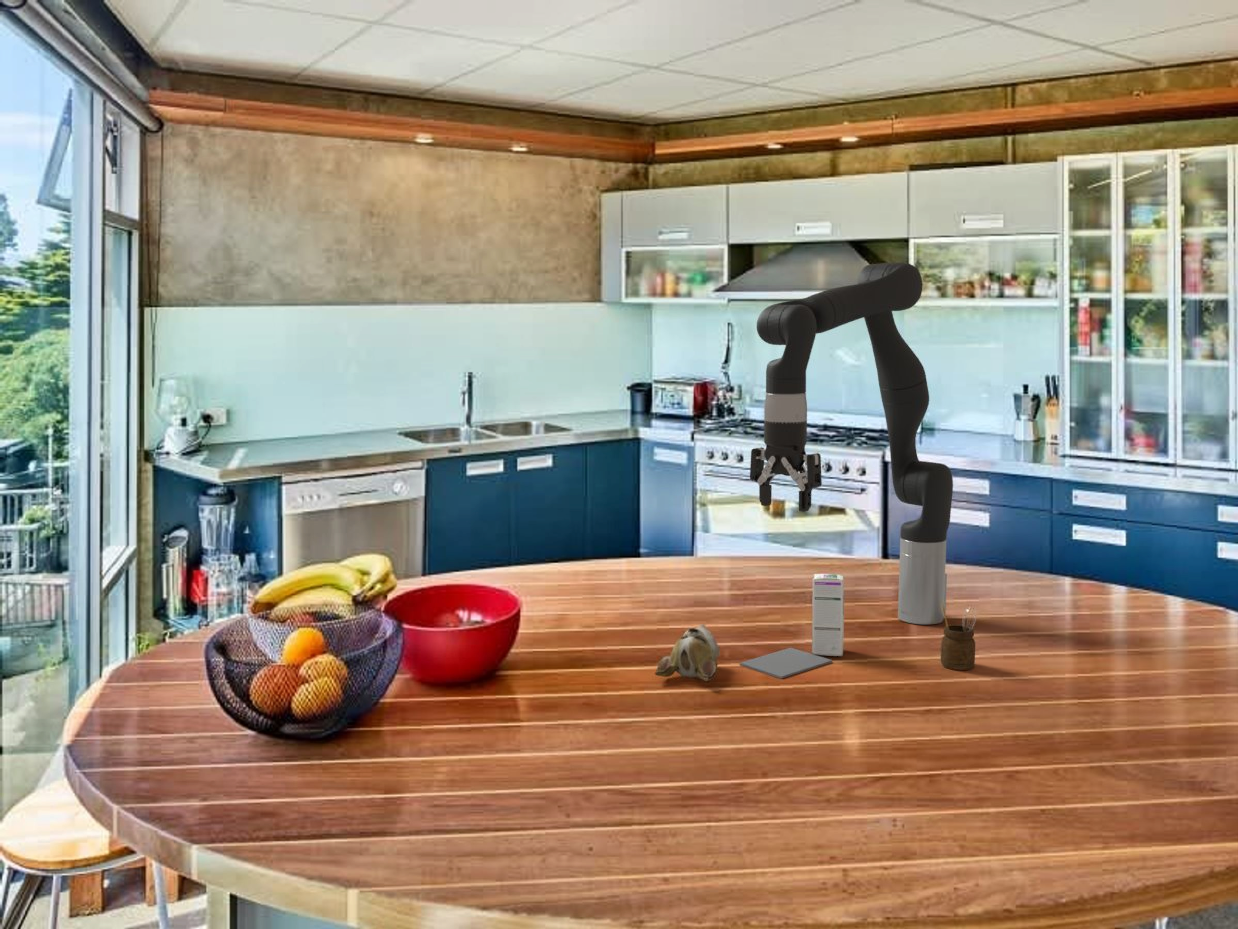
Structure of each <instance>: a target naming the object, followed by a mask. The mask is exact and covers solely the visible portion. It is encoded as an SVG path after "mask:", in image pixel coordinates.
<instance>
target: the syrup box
mask: <svg viewBox="0 0 1238 929" xmlns="http://www.w3.org/2000/svg"><path fill="white" fill-rule="evenodd" d="M844 586H845V585H844V575H842V574H837V573H814V574H813V577H812V614H811V615H812V617H811V618H812V619H811V621H812V622H811V629H812V633H811V634H812V637H811V641H812V642H811V647H812V648H811V654H813V655H817V656H830V657H832V656H833V657H837V656H838V657H843V655H844V654H843V653H844V633H845V632H844V631H845V630H844V629H845V628H844V627H845V626H844V625H845V624H844V623H845V620H844V619H845V594H844V591H845V590H844Z"/></svg>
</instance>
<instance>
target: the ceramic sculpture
mask: <svg viewBox="0 0 1238 929" xmlns="http://www.w3.org/2000/svg"><path fill="white" fill-rule="evenodd" d="M719 654H720V646H719V645H718V642H717V640H716V637H715V636H714V635H713V634H712V632H711V631H710V630H709V629H708V628H707V627H706V626H705V624H700V626H698V627H696V628H689V629H687V630H686V631H685V632H684V634H683V636H682V637H680V638H679V639H678V640H677V641H676V642H675V644H674V646H673V647H672V651H671V652H670V654H669V655H664V656H662V658H661V660H660V661H659V662H658V663H657V667H656V670H655V672H654V675H655V676H658V677H663V678H665V677H666V678H668V677H671V676H673V675H674V674H675V672H676V673H677V674H678V675H680V676H682V677H685V678H692V679H693V678H699V679H701V680H702V681H706V682H707V681H711V680H713V679H714V678H715V676H716V674H717V671H718V664H719V663H718V661H717V659H718V658H719Z"/></svg>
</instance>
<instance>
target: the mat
mask: <svg viewBox="0 0 1238 929" xmlns="http://www.w3.org/2000/svg"><path fill="white" fill-rule="evenodd" d="M831 663H833V660H832V659H830V658H826V657H824V656H821V655H816V654H812V653H810V652H807V651H804V650H800V649H796V648H793V647H788V648H786V649H785V648H784V649H780V650H779V651H775V652H772V653H771V652H770V653H768V654H765V655H761V656H758V657H754V658H752V659H748V660H744V661H741V662H739V665H740V666H742V667H745V668H748V669H750V670H754V671H756V672H759V673H762V674H765V675H769V676H772V677H773V678H778V679H784V678H787V677H792V676H794V675H797V674H800V673H803V672H806V671H807V672H808V671H810V670H812V669H815V668H818V667H822V666H825V665H828V664H831Z"/></svg>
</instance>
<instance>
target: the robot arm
mask: <svg viewBox="0 0 1238 929" xmlns="http://www.w3.org/2000/svg"><path fill="white" fill-rule="evenodd" d="M921 274H922V273H921V272H920V270H919V269H918V268H917V267H916V266H915V265H914V264H911V263H907V262H901V261H900V262H882V263H872V264H867V265H865V266H864V267H862V269H861V270H860V272H859V275H858V279H857V283H856V284H849V285H844V286H838V287H833V288H830V289H826V290H823V291H821V292H820V291H819V292H818V293H814V294H812V295H809V296H807V297H804V298H800V299H793V300H788V301H782V302H778V303H774V304H772V305H768V306H767V307H766V308H764V309H763V310H762V311H761V312H760V314H759V315H758V318H757V320H756V332H757V335H758V336H759V337H760V339H761V340H762V341H763V342H764V343H767V344H768V345H773V346H785V347H784V351H783V354H782V356H781V357H780V358H779V357H778V358H776V359H773V360H770V361H768V363H767V365H766V369H765V370H766V371H765V399H764V407H763V408H764V410H763V414H764V415H763V416H764V418H763V420H764V422H763V424H764V426H763V428H764V429H763V430H764V431H763V442H764V444H765V448H764V447H762V446H761V447H755V448H752V449H751V452H750V466H749V467H750V468H749V480H750V481H752V482H756V483H757V484H758V486H759V493H758V494H759V495H758V496H759V499H758V500H759V502H760V505H761V506H762V507H767V506H771V505H772V492H773V491H772V484H771V482H772V481H773V479H775V477H776V476H778V475H783V476H785V477H790V478H791V479H792V481H794V482H795V484H796V485H797V487H798V489H799V490H798V511H799V512H800V513H801V512H802V513H803V512H804V513H805V512H809V510H810V509H811V507H812V491H813V490H814V489H816V488H820V487H822V484H823V483H822V481H823V480H822V460H821V459H822V458H821V456H822V455H821V453H819V452H817V453H807V452H806V450H805V447H806V444H807V442H808V440H807V439H808V433H807V432H808V431H807V430H808V403H807V368H808V365H809V361H810V357H811V355H812V354H811V353H812V350H813V347H814V343H815V340H816V336H817V334H823V333H827V332H829V331H830V330H833V329H836V328H839V327H841V326H843V325H846V324H849V323H852V322H854V321H857V320H859V319H863V318H864V322H865V326H866V329H867V332H868V336H869V339H870V343H871V344H870V345H871V349H872V352H873V357H874V363H875V367H876V371H877V372H876V373H877V380H878V386H879V391H880V398H881V401H882V402H881V403H882V407H883V411H884V415H885V416H884V417H885V422H886V429H887V435H888V442H889V443H888V444H889V455H890V468H891V479H892V487H893V491H894V494H895V496H896V497H897V499H898V500H899V501H900V502H902V503H903V504H907V505H912V506H919V507H921V508H922V509H921V515H920V517H918V518H917V519H914V520H910V521H909V520H908V521H906V522H903V523H902V524H901V525H900V532H899V533H900V536H899V537H900V538H899V540H900V541H899V568H898V569H899V570H898V572H899V574H898V596H897V597H898V600H897V601H898V602H897V618H898V619H899V620H900V621H902V622H905V623H908V624H914V625H915V624H916V625H936V624H941V623H942V622H944V619H945V618H944V614H943V609H942V604H941V600H942V603H943V607H944V610H945V614H946V611H947V608H946V607H947V606H946V605H947V586H948V585H947V583H948V582H947V581H948V575H947V573H946V561H947V558H946V557H947V534H948V530H949V527H950V524H951V511H952V502H953V493H954V492H953V491H954V490H953V489H954V480H953V474H952V471H951V469H950V467H949V466H947V465H946V464H945V463H939V462H932V461H924V460H920V459H919V456H918V453H917V447H916V445H917V443H916V442H917V440H916V439H917V438H916V437H917V433H918V430H919V428H920V426H921V424H922V422H923V420H924V418H925V416H926V414H927V410H928V408H929V404H930V393H929V392H930V391H929V386H928V379H927V375H926V370H925V367H924V366H923V363H922V362H921V361H920V359H919V358H918V356H917V355H916V353H915V352H914V350H912V348H911V347H910V346H909V344H908V343H907V342H906V340H905V339H904V338H903V337H902V335H901V333H900V331H899V330H898V327H897V325H896V321H895V319H894V318H895V317H894V313H893V312H899V311H900V312H901V311H905V310H909V309H911V308H913V307H914V306H915V305H916V304H917V303H918V301H919V300H920V299H921V297H922V293H923V287H924V286H923V285H924V284H923V278H922V275H921ZM765 460H766V462H767V463H766V464H765ZM804 464H805V465H804Z"/></svg>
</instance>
